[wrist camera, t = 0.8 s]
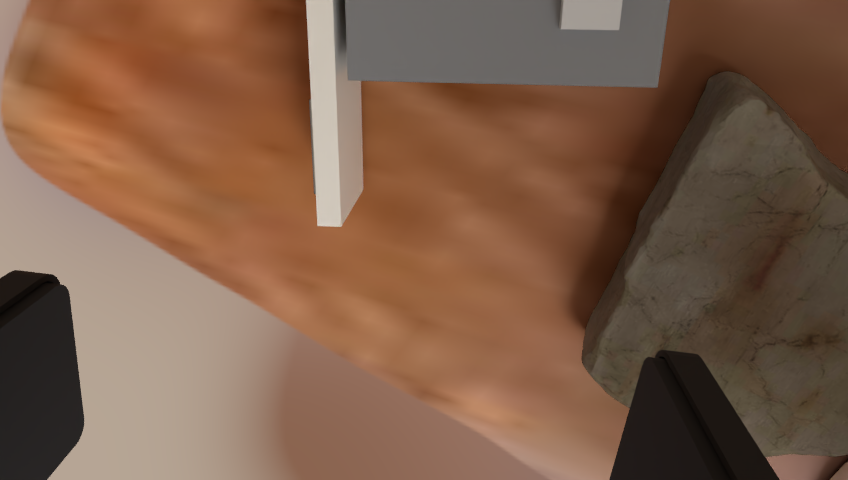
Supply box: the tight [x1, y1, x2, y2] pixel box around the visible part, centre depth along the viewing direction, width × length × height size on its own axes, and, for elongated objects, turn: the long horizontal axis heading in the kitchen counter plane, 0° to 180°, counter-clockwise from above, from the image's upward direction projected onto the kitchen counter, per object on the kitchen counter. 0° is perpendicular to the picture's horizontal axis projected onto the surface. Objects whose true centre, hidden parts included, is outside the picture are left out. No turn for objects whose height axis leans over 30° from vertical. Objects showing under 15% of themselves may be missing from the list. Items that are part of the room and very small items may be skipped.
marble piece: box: [582, 71, 848, 457], centre depth 30 cm, size 17×15×4 cm
